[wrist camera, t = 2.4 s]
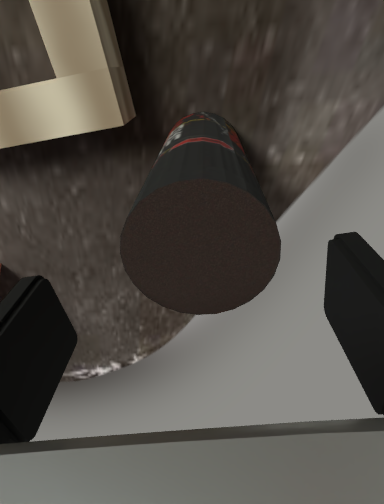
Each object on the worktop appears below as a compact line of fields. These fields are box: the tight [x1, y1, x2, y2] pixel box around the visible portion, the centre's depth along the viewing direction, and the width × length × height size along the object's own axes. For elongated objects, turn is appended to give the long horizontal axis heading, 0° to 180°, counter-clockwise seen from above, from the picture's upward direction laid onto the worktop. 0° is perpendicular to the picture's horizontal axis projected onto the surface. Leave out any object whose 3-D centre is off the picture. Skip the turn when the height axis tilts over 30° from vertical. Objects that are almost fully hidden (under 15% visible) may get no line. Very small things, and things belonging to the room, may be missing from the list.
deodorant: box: [120, 112, 281, 315], centre depth 17 cm, size 6×6×15 cm
